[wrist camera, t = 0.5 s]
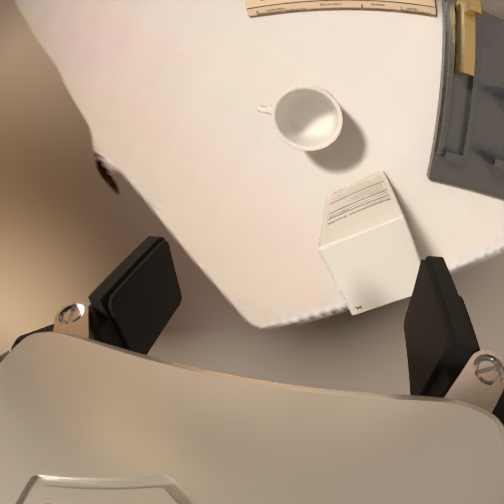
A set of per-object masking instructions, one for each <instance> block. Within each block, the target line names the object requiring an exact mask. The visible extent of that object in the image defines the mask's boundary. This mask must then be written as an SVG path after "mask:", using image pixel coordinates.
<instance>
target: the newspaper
mask: <svg viewBox="0 0 504 504" xmlns="http://www.w3.org/2000/svg"><path fill="white" fill-rule="evenodd" d="M245 4H246V9H247V13H248V16H249V17H251V16H257V15H264V14H271V13H279V12H288V11H299V10H313V9H340V8H354V9H381V10H395V11H405V12H414V13H422V14H429V15H436V11H435V2H434V0H245Z"/></svg>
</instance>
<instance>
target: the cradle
mask: <svg viewBox="0 0 504 504" xmlns="http://www.w3.org/2000/svg"><path fill="white" fill-rule="evenodd" d="M457 2H458V1H456V0H442V10H443V47H442V68H441V82H440V93H439V103H438V111H437V119H436V126H435V133H434V139H433V145H432V151H431V156H430V162H429V167H428V172H427V176H428V177H429V178H433V179H437V180H441V181H445V182H449V183H453V184H457V185H461V186H465V187H469V188H472V189H476V190H479V191H483V192H486V193H490V194H493V195H496V196H499V197H503V198H504V20H501V19H499V18H497V17H495V16H493V15H491V14H489V13H486V12H484V11H482V10H481V12H482V14H480V15H477V16H475V69H474V76H464V75H461V74H458V73H455V65H456V3H457Z"/></svg>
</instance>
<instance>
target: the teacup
mask: <svg viewBox="0 0 504 504" xmlns="http://www.w3.org/2000/svg"><path fill="white" fill-rule="evenodd" d="M257 110H258V111H260V112H264V113H267V114H270V115H271V117H272V124H273V127H274V129H275V131H276V133H277V135H278V136H279V137H280V138H281V139H282V140H283V141H284V142H285V143H286V144H288V145H289V146H291V147H293V148H296V149H299V150H303V151H316V150H320V149H323V148H325V147H327V146H329V145H330V144H332V143H333V142H334V141H335V140H336V139H337V137H338V136H339V134H340V132H341V129H342V125H343V116H342V111H341V108H340V106H339V104H338V102H337V101H336V99H335V98H334V97H333V96H332V95H331V94H330V93H329V92H328V91H326V90H325V89H323V88H321V87H318V86H314V85H307V84H303V85H297V86H294V87H291V88H289V89H288V90H286V91H285V92H283V93H282V94H281V95H280V96H279V97H278V98H277V100H276V101H275V103H274V105H273V106H258V107H257Z"/></svg>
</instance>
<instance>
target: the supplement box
mask: <svg viewBox="0 0 504 504" xmlns="http://www.w3.org/2000/svg"><path fill="white" fill-rule="evenodd" d="M318 252H319V254H320V255H321V257H322V259H323V261H324V263H325V264H326V266H327V268H328V270H329V272H330V274H331V276H332V278H333V279H334V282H335V284H336V286H337V288H338V289H339V291H340V293H341V294H342V296H343V298H344V300H345V302H346V304H347V306H348V308H349V310H350V312H351V314H352V315H355V314H358V313H361V312H364V311H367V310H370V309H373V308H376V307H379V306H382V305H385V304H388V303H391V302H394V301H398V300H401V299H403V298H407V297H410V296H412V293H413V289H414V285H415V282H416V278H417V274H418V270H419V266H420V262H421V260H420V256H419V253H418V250H417V247H416V244H415V241H414V239H413V236H412V233H411V231H410V228H409V225H408V223H407V220H406V218H405V216H404V213H403V211H402V209H401V206H400V204H399V202H398V200H397V197H396V195H395V193H394V191H393V189H392V187H391V185H390V183H389V181H388V179H387V177H386V174H385V172H384V171H380V172H378V173H375V174H373V175H371V176H369V177H366V178H364V179H362V180H360V181H358V182H355V183H353V184H351V185H349V186H346V187H344V188H342V189H340V190H338V191H335V192H333V193H331V194H329V195H327V196H326V203H325V210H324V217H323V223H322V229H321V235H320V241H319V247H318Z"/></svg>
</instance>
